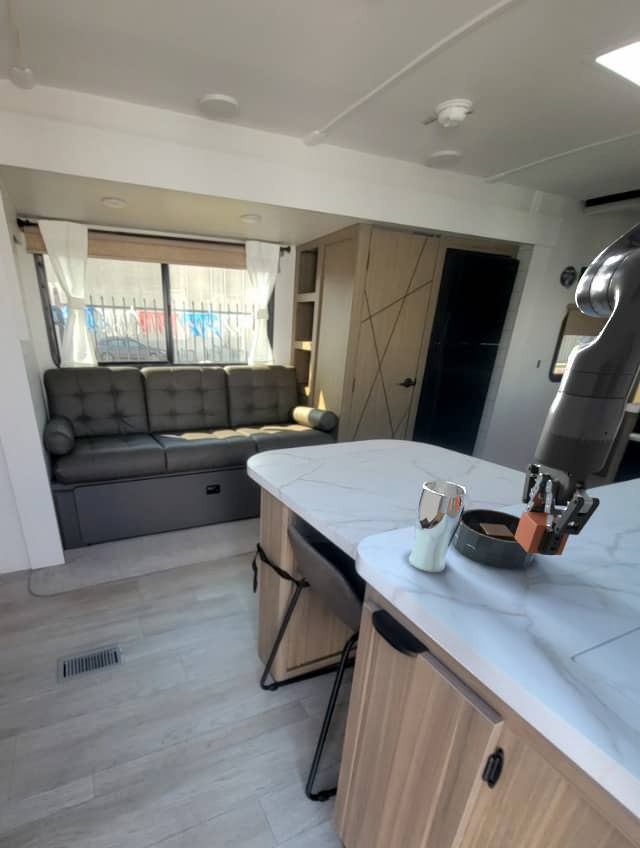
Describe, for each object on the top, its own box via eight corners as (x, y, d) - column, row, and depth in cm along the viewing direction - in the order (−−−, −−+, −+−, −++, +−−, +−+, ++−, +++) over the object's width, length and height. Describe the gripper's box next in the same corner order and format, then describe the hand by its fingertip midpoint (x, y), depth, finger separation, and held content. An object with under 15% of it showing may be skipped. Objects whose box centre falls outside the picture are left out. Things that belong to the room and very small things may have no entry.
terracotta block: (545, 540, 61) (555, 513, 59) (561, 555, 57) (572, 527, 55) (513, 537, 62) (522, 511, 60) (527, 553, 58) (537, 525, 56)
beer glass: (411, 551, 76) (428, 476, 69) (451, 564, 72) (472, 486, 66) (399, 568, 71) (416, 489, 64) (441, 582, 67) (464, 500, 60)
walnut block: (497, 545, 78) (504, 524, 76) (507, 558, 73) (515, 536, 72) (473, 543, 78) (479, 522, 76) (481, 555, 74) (488, 534, 72)
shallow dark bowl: (511, 538, 81) (520, 511, 78) (543, 576, 69) (556, 546, 67) (442, 532, 83) (449, 506, 80) (463, 568, 71) (471, 539, 68)
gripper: (652, 447, 45) (594, 574, 53) (578, 418, 58) (541, 524, 65) (578, 444, 46) (532, 569, 53) (522, 416, 59) (491, 520, 66)
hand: (537, 544), depth 59 cm, fingers closed on terracotta block, 4 cm apart
